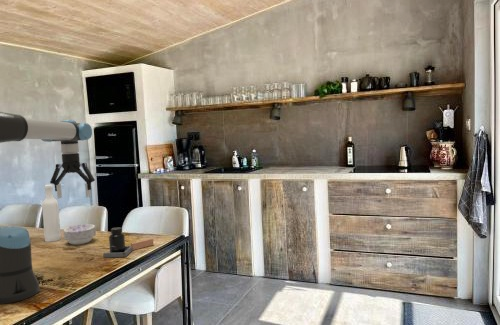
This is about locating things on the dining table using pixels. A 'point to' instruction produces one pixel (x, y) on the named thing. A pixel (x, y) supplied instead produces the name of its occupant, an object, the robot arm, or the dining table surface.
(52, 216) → the bottle
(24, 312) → the dining table surface
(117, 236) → the supplement bottle
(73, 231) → the paper bowls
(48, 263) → the dining table surface
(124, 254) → the holder
